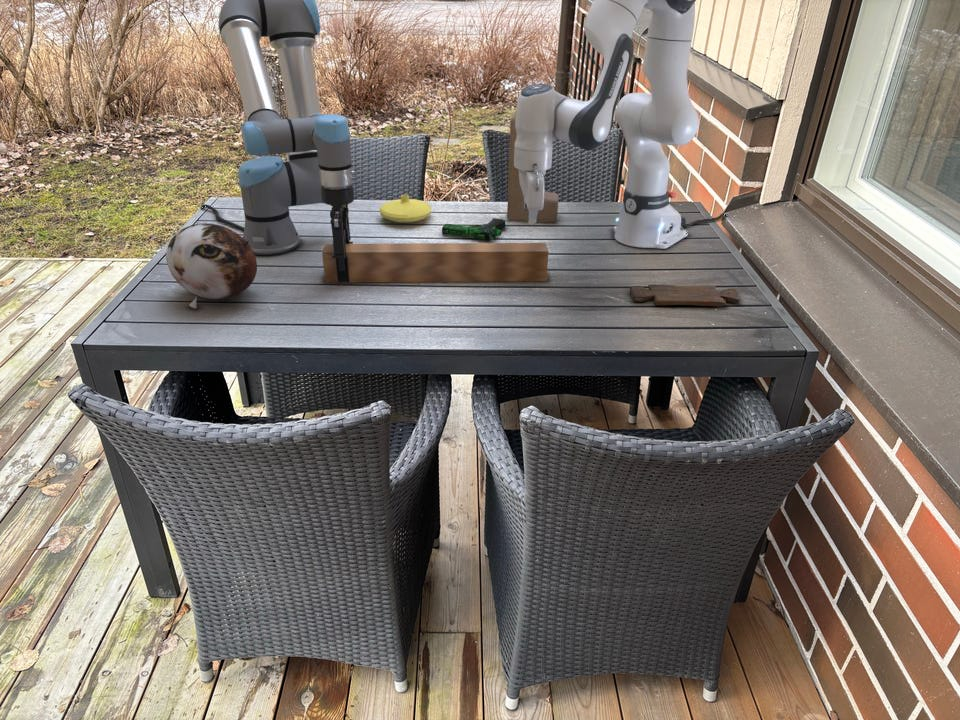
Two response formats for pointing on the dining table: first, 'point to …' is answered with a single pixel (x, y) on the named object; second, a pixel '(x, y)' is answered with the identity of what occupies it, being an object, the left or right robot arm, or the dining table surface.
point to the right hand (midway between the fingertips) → (529, 216)
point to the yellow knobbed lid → (405, 210)
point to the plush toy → (211, 261)
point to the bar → (440, 262)
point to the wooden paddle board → (684, 295)
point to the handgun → (476, 230)
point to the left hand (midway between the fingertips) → (345, 275)
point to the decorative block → (516, 195)
